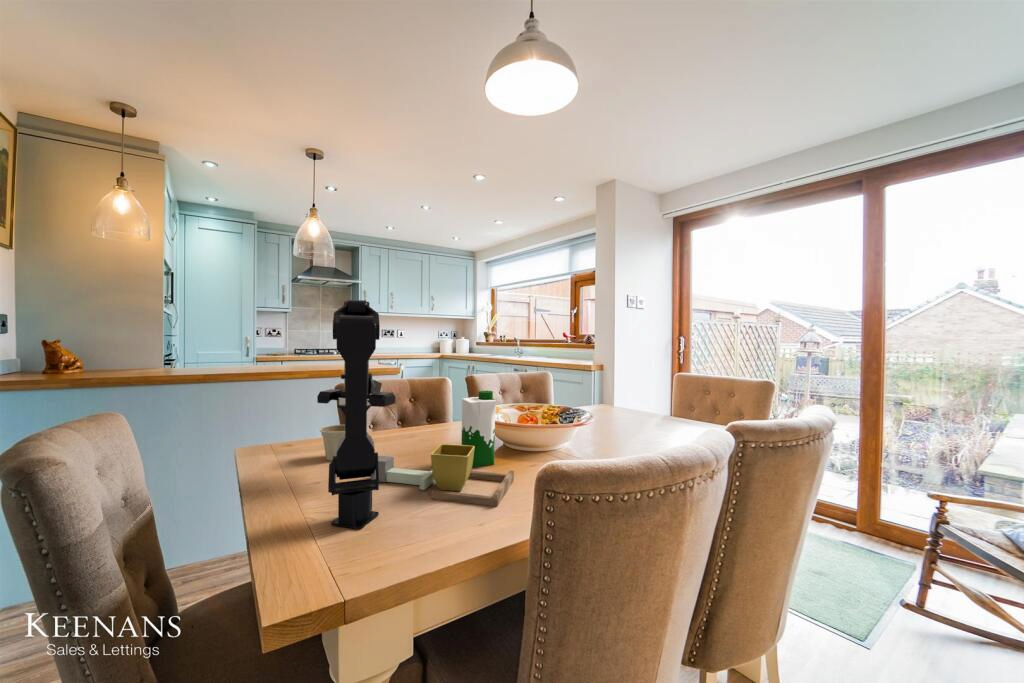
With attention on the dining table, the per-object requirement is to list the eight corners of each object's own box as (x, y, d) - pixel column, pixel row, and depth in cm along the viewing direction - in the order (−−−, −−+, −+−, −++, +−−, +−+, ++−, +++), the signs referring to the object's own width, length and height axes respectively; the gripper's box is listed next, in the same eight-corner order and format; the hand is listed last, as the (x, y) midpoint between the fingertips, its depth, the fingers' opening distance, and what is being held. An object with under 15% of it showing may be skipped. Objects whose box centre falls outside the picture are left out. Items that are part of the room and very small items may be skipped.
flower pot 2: (474, 481, 101) (475, 445, 101) (467, 495, 93) (468, 455, 92) (440, 479, 102) (440, 443, 102) (429, 493, 94) (430, 454, 93)
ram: (424, 490, 95) (424, 468, 95) (365, 483, 98) (365, 462, 98) (438, 478, 103) (438, 458, 102) (383, 472, 106) (383, 453, 106)
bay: (497, 506, 87) (497, 494, 87) (431, 498, 90) (431, 487, 90) (513, 480, 102) (513, 470, 102) (456, 475, 105) (456, 465, 105)
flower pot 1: (322, 454, 121) (322, 425, 121) (356, 452, 124) (356, 423, 124) (317, 464, 112) (317, 433, 112) (354, 461, 115) (354, 430, 115)
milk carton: (498, 465, 114) (499, 393, 113) (467, 469, 110) (468, 395, 110) (486, 456, 122) (487, 389, 121) (457, 459, 118) (458, 390, 118)
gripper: (406, 368, 108) (405, 427, 109) (343, 366, 113) (343, 422, 113) (383, 372, 98) (383, 437, 98) (315, 369, 102) (315, 432, 102)
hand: (356, 431), depth 103 cm, fingers closed
